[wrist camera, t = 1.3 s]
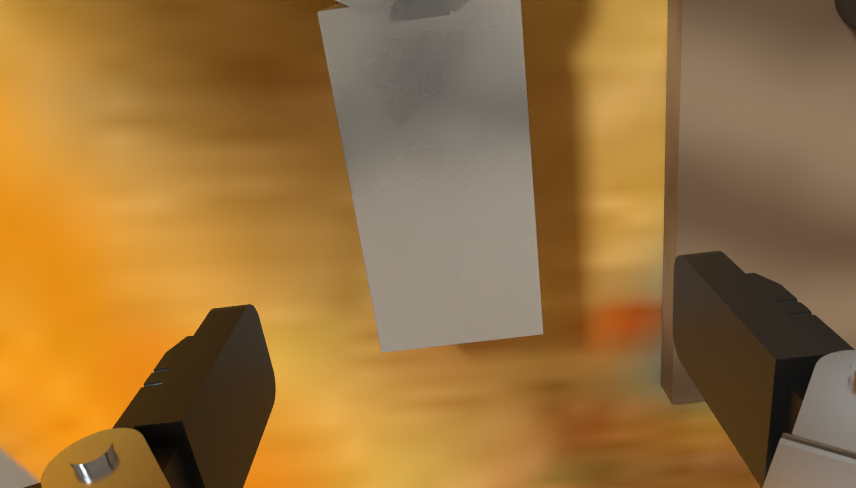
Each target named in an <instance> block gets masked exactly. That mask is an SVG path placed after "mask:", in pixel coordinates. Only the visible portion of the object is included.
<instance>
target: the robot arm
mask: <svg viewBox="0 0 856 488" xmlns="http://www.w3.org/2000/svg"><path fill="white" fill-rule="evenodd" d="M673 340H674V345H675V349H676V353H677V355H678V358H679V360H680V362H681V364H682V365H683V367H684V368H685V370H686V372H687V373H688V375H689V376H690V378H691V379H692V381H693V382H694V384H695V386H696V387H697V389H698V390H699V392H700V393H701V395H702V396H703V398H704V400H705V401H706V403H707V404H708V406H709V407H710V409H711V410H712V412H713V413H714V415H715V417H716V418H717V420H718V421H719V423H720V424H721V426H722V427H723V429H724V431H725V432H726V434H727V435H728V437H729V438H730V440H731V441H732V443H733V445H734V446H735V448H736V449H737V451H738V452H739V454H740V455H741V457H742V458H743V460H744V462H745V463H746V465H747V466H748V468H749V469H750V471H751V472H752V474H753V476H754V477H755V479H756V480H757V482H758V483H759V485H760V486H761V488H856V350H855V349H854V348H852V347H851V346H850V345H849V344H848V343H847V342H846V341H844V340H843V339H842V338H841V337H840V336H839V335H838V334H837V333H835V332H834V331H833V330H832V329H831V328H830V327H829V326H827V325H826V324H825V323H824V322H823V321H822V320H821V319H820V318H818V317H817V316H816V315H812V311H810V310H809V309H808V308H807V307H806V306H805V305H804V304H803V303H801V302H798V300H797V298H796V297H795V296H793V295H792V294H791V293H790V292H789V291H788V290H787V289H786V288H784V287H783V286H782V285H781V284H779V283H777V282H775V281H772V280H770V279H768V278H765V277H763V276H761V275H759V274H756V273H747V274H746V273H745V272H743V271H742V270H741V269H740V268H739V267H738V266H737V265H736V264H735V263H734V262H733V261H732V260H731V259H730V258H729V257H728V256H727V255H725V254H724V253H723V252H722V251H711V252H702V253H694V254H685V255H678V256H677V257H676V259H675V263H674V276H673ZM274 401H275V376H274V371H273V368H272V364H271V360H270V356H269V353H268V349H267V345H266V341H265V338H264V334H263V330H262V327H261V323H260V319H259V316H258V313H257V311H256V309H255V307H254V306H253V305H251V304H248V305H240V306H231V307H223V308H214V309H212V310H211V311H210V312H209V313H208V315H207V316H206V318H205V319H204V321H203V322H202V324H201V325H200V327H199V328H198V330H197V331H196V333H195V334H194V336H187V337H186V338H184V339H183V340H182V341H180V342H179V343H178V344H177V345H175V346H174V347H173V348H171V349H170V350H169V351H167V352H166V353H165V355H164V356H163V358H162V359H161V360H160V362H159V363H158V365H157V366H156V367H155V369H154V373H151V375H150V376H149V377H148V379H147V380H146V382H145V383H144V387H142V388H141V389H140V390H139V391H138V393H137V394H136V396H135V397H134V399H133V400H132V401H131V403H130V404H129V406H128V407H127V408H126V410H125V411H124V413H123V414H122V416H121V417H120V418H119V420H118V421H117V423H116V424H115V425H114V427H113V428H112V429H108V430H104V431H100V432H97V433H94V434H91V435H89V436H87V437H84V438H82V439H80V440H78V441H77V442H75V443H73V444H71V445H70V446H68V447H67V448H65V449H64V450H63V451H61V452H60V453H59V454H58V455H57V456H55V457H54V459H53V460H52V461H51V462H50V463H49V464H48V465H47V467H46V468H45V470H44V472H43V474H42V477H41V482H40V483H37V484H34V485H31V486H28V487H25V488H243V486H244V484H245V481H246V478H247V475H248V473H249V470H250V467H251V465H252V462H253V459H254V457H255V454H256V451H257V448H258V446H259V443H260V440H261V438H262V435H263V432H264V429H265V427H266V424H267V421H268V419H269V416H270V413H271V411H272V408H273V405H274Z"/></svg>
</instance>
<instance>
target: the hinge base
mask: <svg viewBox="0 0 856 488" xmlns="http://www.w3.org/2000/svg"><path fill="white" fill-rule="evenodd" d="M711 251H722V252H723V253H724V254H725V255H727V256H728V257H729V258H730V259H731V260H732V261H733V262H734V263H735V264H736V265H737V266H738V267H739V268H740V269H741V270H742V271H743V272H745V273H746V274H747V273H756V274H759V275H761V276H763V277H765V278H768V279H770V280H772V281H775V282H777V283H779V284H781V285H782V286H783V287H784V288H786V289H787V290H788V291H789V292H790V293H791V294H792V295H793V296H795V297H796V298H797V300H798V302H801V303H803V304H804V305H805V306H806V307H807V308H808V309H809V310H810V311H812V315H816V316H817V317H818V318H820V319H821V320H822V321H823V322H824V323H825V324H826V325H827V326H829V327H830V328H831V329H832V330H833V331H834V332H835V333H837V334H838V335H839V336H840V337H841V338H842V339H843V340H844V341H846V342H847V343H848V344H849V345H850V346H851V347H852V348H854V349H855V350H856V0H668V36H667V90H666V145H665V199H664V254H663V309H662V363H661V386H662V388H663V389H664V391H665V393H666V395H667V397H668V398H669V400H670V402H671V404H681V403H690V402H699V401H705V400H704V398H703V396H702V395H701V393H700V392H699V390H698V389H697V387H696V386H695V384H694V382H693V381H692V379H691V378H690V376H689V375H688V373H687V372H686V370H685V368H684V367H683V365H682V364H681V362H680V360H679V358H678V355H677V353H676V349H675V345H674V340H673V276H674V263H675V259H676V257H677V256H678V255H685V254H694V253H702V252H711Z"/></svg>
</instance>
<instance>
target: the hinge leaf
mask: <svg viewBox="0 0 856 488" xmlns="http://www.w3.org/2000/svg"><path fill="white" fill-rule="evenodd" d="M335 1H338V2H340V3H337V4H335V5H332V6H330V7H327V8H325V9H323V10H320V11H318V12H317V14H318V19H319V24H320V29H321V35H322V40H323V45H324V51H325V56H326V61H327V67H328V72H329V77H330V82H331V88H332V93H333V98H334V104H335V109H336V114H337V120H338V125H339V130H340V135H341V141H342V146H343V151H344V157H345V162H346V167H347V172H348V178H349V183H350V188H351V194H352V199H353V204H354V210H355V215H356V220H357V225H358V231H359V236H360V241H361V247H362V252H363V257H364V263H365V268H366V273H367V278H368V284H369V289H370V294H371V300H372V305H373V310H374V315H375V321H376V326H377V331H378V337H379V342H380V347H381V353H384V352H392V351H401V350H410V349H419V348H427V347H436V346H445V345H453V344H462V343H471V342H480V341H488V340H497V339H506V338H515V337H523V336H532V335H541V334H543V322H542V307H541V292H540V278H539V263H538V248H537V234H536V219H535V204H534V190H533V175H532V160H531V146H530V131H529V116H528V102H527V87H526V72H525V58H524V43H523V28H522V14H521V0H335Z"/></svg>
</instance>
